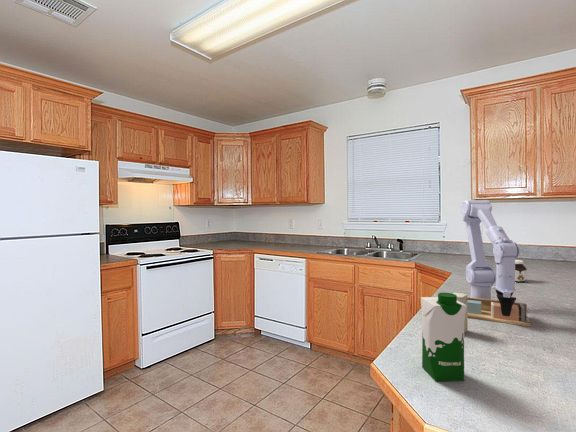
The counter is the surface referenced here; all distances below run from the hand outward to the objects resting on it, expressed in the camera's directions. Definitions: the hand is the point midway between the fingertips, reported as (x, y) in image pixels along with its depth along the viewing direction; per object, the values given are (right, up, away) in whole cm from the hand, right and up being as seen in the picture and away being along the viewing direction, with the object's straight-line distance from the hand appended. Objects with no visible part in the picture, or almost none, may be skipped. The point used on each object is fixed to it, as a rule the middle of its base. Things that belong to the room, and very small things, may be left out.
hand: (505, 312), depth 120 cm
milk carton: (-41, -4, -39) cm, 57 cm away
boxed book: (0, -2, 0) cm, 2 cm away
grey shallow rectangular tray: (+5, -2, -2) cm, 6 cm away
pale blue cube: (-8, -2, +6) cm, 10 cm away
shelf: (-2, -3, +3) cm, 4 cm away
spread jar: (+48, -1, +64) cm, 80 cm away
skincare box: (-23, -3, -11) cm, 26 cm away
